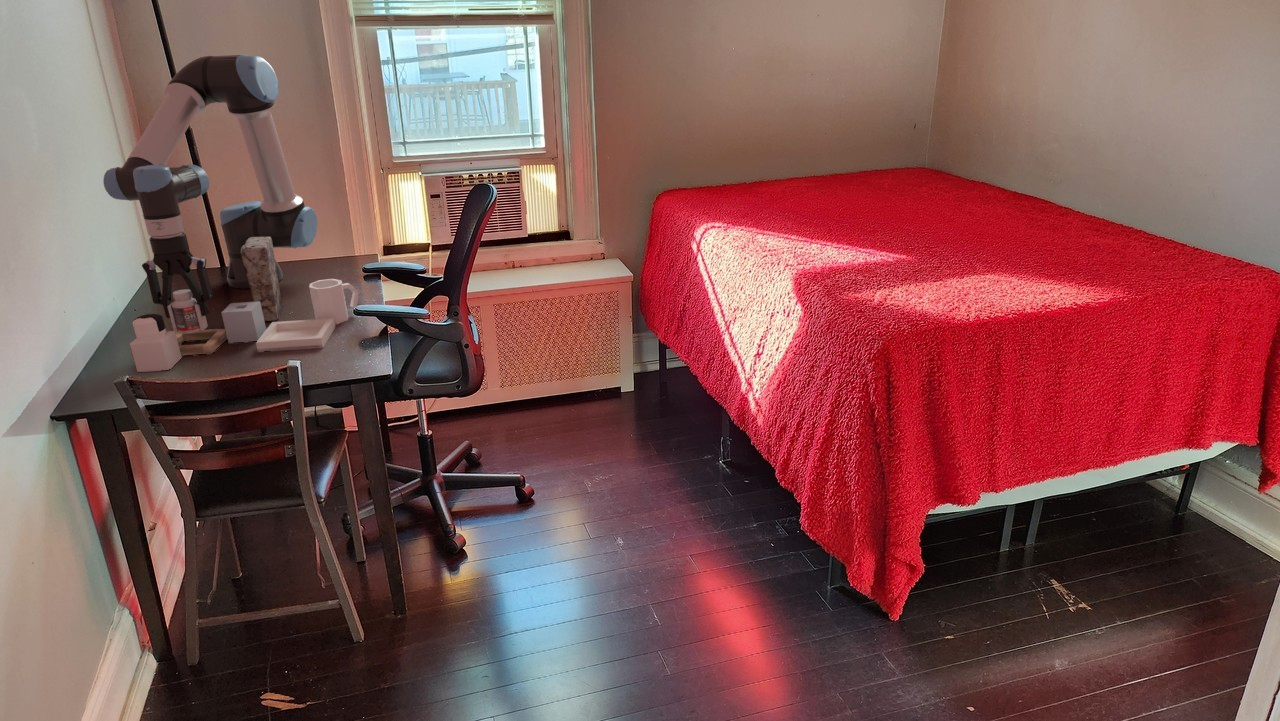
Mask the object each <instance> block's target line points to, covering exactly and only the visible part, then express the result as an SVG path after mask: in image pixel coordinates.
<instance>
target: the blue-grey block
mask: <svg viewBox="0 0 1280 721" xmlns="http://www.w3.org/2000/svg"><path fill="white" fill-rule="evenodd" d="M221 316H222V317H221V318H222V321H223V326H224V329H225V330H226V334H227V341H228V342H227V343H228V344H234V343H233V342H244V343H249V342H248V341H258V339H259V338H260V337H261V336H262V334H263V333H264V332H265V331H266V329H267V327H266V323H265V322H266V321H264V317H263V312H262V308H261V303H260V301H258V302H254V301H247V302H246V301H245V302H244V301H243V302H231V303H230V304H228V305H227V306H226V308H224V309H223V311H221Z"/></svg>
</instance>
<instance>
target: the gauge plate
mask: <svg viewBox="0 0 1280 721" xmlns="http://www.w3.org/2000/svg"><path fill="white" fill-rule="evenodd" d="M175 334H176V337H177V341H178V345H179V349H180V352H181V355H183V354H197V353H213V352H214V351H215V349H216V348H217V347H219V346H220V344H221V343H222V342H223V341H224V340H225V339H226V338H227V334H226V330H225V328H214V329H212V328H211V329H205V330H200V331H198V332H195V333H189V334H183V333H180V332H179V331H178V332H175ZM200 339H209V340H206V341H207V342H206V343H199V344H198V343H197V344H196V343H195V344H182V342H184V341H186V340H200ZM227 339H228V338H227ZM227 339H226V340H227ZM226 340H225V341H226ZM184 343H185V342H184ZM180 344H182V345H180ZM220 347H221V346H220ZM220 347H219V348H220ZM215 352H216V351H215Z"/></svg>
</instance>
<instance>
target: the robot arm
mask: <svg viewBox="0 0 1280 721" xmlns="http://www.w3.org/2000/svg"><path fill="white" fill-rule="evenodd" d="M279 87H280V85H279V80H278V77H277V75H276V72H275V70H274V67H272V65H271V64H270V63H269V62H268V61H267V60H265V59H264V58H263V57H261V56H259V55H248V54H235V55H233V54H232V55H207V56H205V55H204V56H202V57H201V56H200V57H198V58H196V59H193V60H192V61H190V62H189V63H186V64H185V65H184V66H183V67H182V68H181V69H180V70H178V72H177V73H176V74H174V76H173V77H172V78H171V80H170V81H169V82H168V84H167V86H166V87H165V90H164V95H165V98H164V99H163V101H162V103H161V104H160V106H159V107H158V109H157V110H156V112H155V113H154V116H153V117H152V119H151V120H150V122H149V124H148V125H147V127H146V128H145V130H144V132H143V133H142V134H141V137H140V138H139V139H138V141H137V143H136V145H135V147H133V149H132V151H131V152H130V155H129V156H128V157H127V159H126V161H125V162H124V164H123V165H122V167H121V166H120V167H119V166H118V167H113V168H110V169H108V170H106V171H105V173H104V175H103V181H102V182H103V186H104V190H105V191H106V193H107V194H108V195H109V196H110V197H111V198H113V199H114V200H118V201H119V200H120V201H130V202H132V201H139V204H140V208H141V211H142V216H143V219H144V224H145V227H146V231H147V235H148V236H150V237H149V240H148V241H149V243H150V248H151V251H152V253H153V257H152V259H151V260H147V261H146V262H144V263H142V265H141V267H142V269H143V270H144V272H145V273H146V277H147V282H148V286H149V290H150V294H151V299H152V302H153V304H155V305H157V304H159V305H161V306H163V310H164V314H165V317H166V318H167V319H170V321H171V325H172V328H173V330H172V331H175V333H177V332H179V331H178V327H177V323H176V319H175V315H174V311H173V307H172V303H173V302H172V301H173V299H172V295H173V292H172V291H173V290H172V289H173V287H172V286H173V276H174V275H179V276H180V277H181V278H182V279H183V280H184V281H185V283H186V285H187V287H188V289H189V290H191V292H192V297H193V298H194V299H196V301H197V303H196V304H195V305H194V306H195V310H196V314H197V318H198V322H199V326H200V330H207V328H208V327H209V326H208V322H207V317H206V316H208V315H209V309H208V304H207V301H210V300H211V299H212V298H213V297H214V293H213V290H212V287H211V283H210V279H209V275H208V271H207V268H206V266H207V265H206V264H207V258H205V257H201V258H199V257H196V256H194V255H193V254H192V253H191V251H190V247H189V246H190V245H189V242H188V238H187V235H186V233H185V230H186V229H185V224H184V222H183V218H182V214H181V210H180V206H179V204H180V203H183V202H186V201H189V200H193V199H197V198H199V197H200V196H202V195H204V194H206V193H207V191H208V190H209V188H210V178H209V175H208V174H207V172H206V171H205V170H204V169H203V168H202V167H200V166H198V165H197V164H196V165H195V164H187V165H185V164H183V165H181V166H179V167H178V166H177V167H176V166H175V167H169V166H168V165H167V164H168V162H169V160H170V158H171V157H172V155H173V154H174V152H175V151H176V149H177V147H178V146H179V144H180V142H181V141H182V139H183V137H184V135H185V133H186V132H187V130H188V129H189V127H190V126H191V123H192V121H193V120H194V118H195V117H196V115H199V114H201V113H203V111H205V108H206V107H207V106H208V105H211V104H216V103H217V104H219V103H226V106H227V109H228V112H229V114H231V115H232V116H234V117H236V118H237V120H238V123H239V126H240V130H241V133H242V136H243V139H244V142H245V145H246V149H247V152H248V155H249V158H250V162H251V163H252V167H253V171H254V174H255V177H256V180H257V184H258V186H259V189H260V192H261V195H262V198H263V201H262V202H261V201H259V200H252V201H246V202H243V203H242V202H241V203H236V204H233V205H230V206H227V207H225V208H223V209H222V210H220V212H219V218H220V226H221V228H222V233H223V237H224V243H225V245H226V249H227V254H228V259H229V260H228V269H227V277H226V278H227V283H228V286H229V287H231V288H235V289H251V288H250V285H249V281H248V278H247V275H246V271H245V268H244V265H243V261H242V256H241V248H242V246H243V245H245V243H246V240H248V238H250V237H271V239H272V244H273V249H275V248H278V249H280V248H281V249H282V248H283V249H284V248H285V249H287V248H289V249H290V248H292V249H297V248H307V247H309V246H311V244H313V242H314V240H315V239H316V236H317V232H318V217H317V214H316V211H315V210H314V209H313V208H312V207H310V206H308V205H307V206H306V205H305V202H304V200H303V197H302V196H300V195H299V194H296V192H295V189H294V185H293V181H292V178H291V175H290V171H289V168H288V165H287V161H286V158H285V154H284V151H283V147H282V144H281V141H280V138H279V134H278V131H277V127H276V124H275V120H274V117H273V115H272V111H273V109H274V107H275V106H276V104H275V101H276V100H277V99H278V97H279V92H280V90H279ZM192 263H193V265H194V267H195V268H196V273H197V277H198V281H199V283H198V282H197V280H196V277H195V276H194V274H193V270H192V269H191V265H192ZM275 264H276V271H277V277H278V282H281V281H282V279H283V278H284V275H283V270H282V268H281V267H280V265H279V263H278V261H277V259H275ZM157 267H158V268H159V269H160V270H161V279H162V284H161V285H160V280H159V277H158V273H157V270H156V268H157ZM161 286H162V287H161ZM161 289H162V290H161Z"/></svg>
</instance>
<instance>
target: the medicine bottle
mask: <svg viewBox="0 0 1280 721" xmlns="http://www.w3.org/2000/svg"><path fill="white" fill-rule="evenodd" d="M132 327H133V330H134V333H135V336H136V338H135V339H133V340H132V341H131V342H130V343H129V348H130V351H131V354H132V358H133V361H134V364H135V367H136V371H137V373H144V372H145V373H148V372H149V373H150V372H162V371H161V370H169V369H170V370H172V369H173V368H174V367H175V366H176V365H177V364H178V363H179V362H180V361H181V360H182V359H183V356H181V352H180V349H179V345H178V341H177V337H176V334H175V333H176V332H175V331H174V330H167V329H166V325H165V321H164V317H163V316H162V315H161V314H158V313H157V314H156V313H150V314H149V313H148V314H144V315H140V316H137V317H136V318H134V319H133V321H132ZM181 358H182V359H181ZM180 359H181V360H180ZM179 360H180V361H179ZM178 361H179V362H178ZM177 362H178V363H177ZM176 363H177V364H176ZM175 364H176V365H175ZM174 365H175V366H174ZM170 370H169V371H170Z"/></svg>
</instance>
